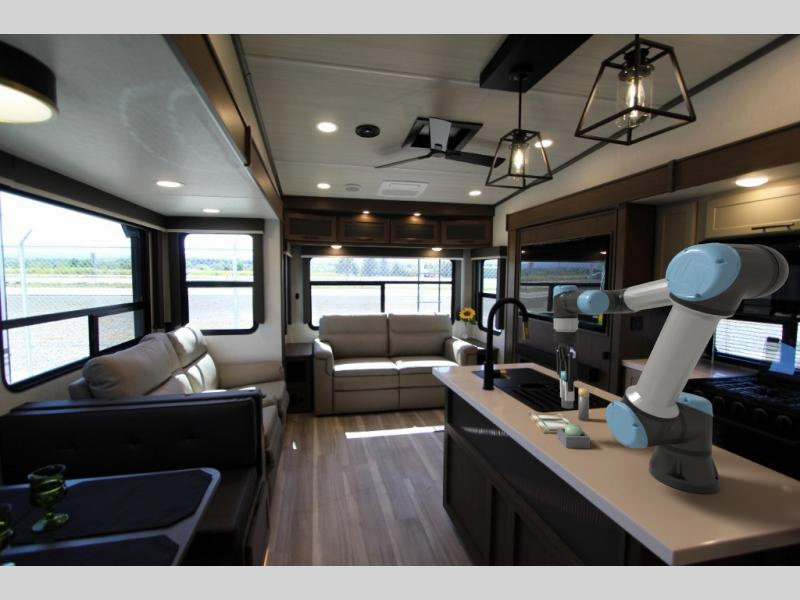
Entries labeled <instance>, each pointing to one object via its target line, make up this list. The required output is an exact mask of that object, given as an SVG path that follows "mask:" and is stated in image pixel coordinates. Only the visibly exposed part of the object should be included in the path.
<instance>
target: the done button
mask: <svg viewBox="0 0 800 600" xmlns="http://www.w3.org/2000/svg"><path fill="white" fill-rule="evenodd" d="M582 431H583V430H582V426H581V425H579V424H575V423H572V424H566V425H565V434H566V435H567V436H582Z"/></svg>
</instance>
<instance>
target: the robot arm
mask: <svg viewBox="0 0 800 600" xmlns="http://www.w3.org/2000/svg"><path fill="white" fill-rule="evenodd" d="M789 271H790V269H789V263H788V261H787V260H786V258H785V257H784V255H783V254H781V253H780V252H779V251H778V250H776V249H775V248H773V247H770V246H767V245H762V244H758V243H757V244H756V243H754V244H753V243H752V244H751V243H747V244H743V243H742V244H741V243H720V242H710V243H703V244H702V243H701V244H696V245H691V246H689V247H687V248H683V250H681V251H680V252H678V253H676V255H675V256H673V258H672V259H671V261H670V262H669V264H668V266H667V269H666V271H665V277H664V278H661V279H657V280H653V281H648V282H645V283H642V284H638V285H634V286H633V285H632V286H629V287H625V288H622V289H621V288H620V289H613V290H611V289H610V290H609V289H606V290H605V289H604V290H603V289H602V290H601V289H600V290H599V289H598V290H597V289H587V290H578V287H577V285H571V284H570V285H568V284H567V285H556V286H554V287H553V296H552V299H553V300H552V303H553V304H552V305H553V329H554V330H555V331H554V332H553V340H554V341H553V342H556V343H558V346H555V348H554V349H555V354H556V373H557V376H558V378H559V390H560V392H559V397H560V398H561V371H565V373H566V380H564V382H565V401H573V402H574V401H575V383H576V382H577V381H578V358H579V352H578V351H575V345H574V344H576V343H578V342H579V332H578V330H579V323H580V321H579V319H578V318H579V316H578V315H588V316H597V315H604V314H605V315H606V314H608V315H609V314H632V313H637V312H639V311H641V310H647V309H654V308H661V307H666V306H667V307H669V306H672V308H671V309H670V312H669V313H668V316H667V318H666V320H665V322H664V325H663V327H662V329H661V331H660V333H659V335H658V337H657V340H656V341H655V344H654V346H653V349H652V351H651V353H650V355H649V357H648V359H647V361H646V363H645V366H644V368H643V370H642V372H641V374H640V377H639V379H638V381H637V383H636V384H635V385H630V386H628V387H627V388H626V390H625V392H624V394H623V397H622V398H621V399H620V400H619V401H618V400H615V401H613V402H610V403H609V404H608V405H607V407H606V411H605V420H606V424H607V426H608V429H609V431H610V432H611V435H612V436H613V437H614V438H615V439H616V441H618V442H619V443H620V444H621V445H622V446H624V447H626V448H629V449H641V450H642V449H646V448H651V447H653V448H654V450H653V451H652V452H653V453H652V454H651V458H650V459H649V461H648V471H649V473H650V475H651V476H652V477H653V478H654V479H655V480H657V481H659V482H660V483H662V484H665V485H667V486H669V487H672V488H674V489H677V490H679V491H685V492H688V493H689V492H690V493H693V494H694V493H695V494H703V495H704V494H715V493H717V492H719V491H720V490H721V478H720V475H719V472H718V470H717V467H716V464H715V461H714V459H713V455H712V453H713V418H714V413H713V404H712V403H711V401H710V400H709V399H707V398H705V397H702V396H699V395H697V394H692V393H688V392H683V389H684V388H685V387H686V384H687V382H688V381H689V379H690V376H691V375H692V373H693V371H694V370H695V367H696V366H697V364H698V362H699V360H700V358H701V356H702V354H703V353H704V351H705V350H706V348H707V345H708V344H709V341H710V340H711V338H712V337H713V334H714V332H715V330H716V328H718V325H719V323H720V321H721V320H724V319H727V318H731V317H733V316H734V315H735V313H736V311H737V310H738V308H739V306H740V305H741V302H742V300H750V299H751V300H752V299H759V298H763V297H766V296H769V295H771V294H773V293H775V292H776V291H779V289H780V288H781V287H782V286H784V285H785V282H786V281H787V279H788V277H789Z"/></svg>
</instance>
